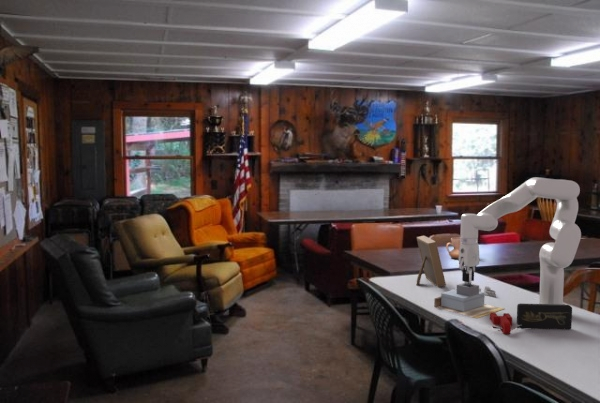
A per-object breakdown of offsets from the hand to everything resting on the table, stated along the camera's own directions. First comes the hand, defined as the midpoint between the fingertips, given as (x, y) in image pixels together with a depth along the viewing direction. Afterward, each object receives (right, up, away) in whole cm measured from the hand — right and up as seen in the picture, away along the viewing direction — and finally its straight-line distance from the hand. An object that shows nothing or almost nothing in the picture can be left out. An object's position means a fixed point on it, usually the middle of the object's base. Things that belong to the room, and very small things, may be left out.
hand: (468, 280), depth 238 cm
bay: (+1, -14, 0) cm, 14 cm away
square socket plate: (-2, -12, +3) cm, 12 cm away
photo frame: (-6, -10, +55) cm, 56 cm away
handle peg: (0, -4, 0) cm, 5 cm away
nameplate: (+23, -16, -24) cm, 37 cm away
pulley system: (+14, -13, +26) cm, 32 cm away
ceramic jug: (+34, -4, +126) cm, 130 cm away
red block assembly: (+6, -16, -24) cm, 30 cm away
